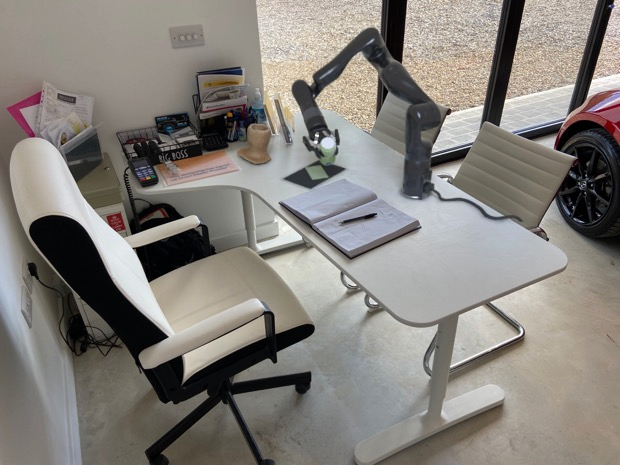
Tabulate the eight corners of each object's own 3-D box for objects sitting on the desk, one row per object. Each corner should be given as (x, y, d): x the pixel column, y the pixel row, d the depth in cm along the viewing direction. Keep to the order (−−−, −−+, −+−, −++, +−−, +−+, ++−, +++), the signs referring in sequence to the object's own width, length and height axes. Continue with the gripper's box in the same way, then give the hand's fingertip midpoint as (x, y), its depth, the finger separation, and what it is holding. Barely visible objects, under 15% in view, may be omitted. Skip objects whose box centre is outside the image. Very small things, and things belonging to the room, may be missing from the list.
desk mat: (345, 169, 201) (345, 168, 201) (310, 188, 187) (310, 187, 187) (319, 161, 209) (318, 159, 208) (283, 179, 195) (283, 178, 194)
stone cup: (278, 160, 210) (275, 126, 203) (254, 168, 205) (250, 133, 197) (259, 150, 221) (256, 117, 213) (236, 157, 215) (232, 123, 207)
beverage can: (335, 154, 187) (337, 132, 177) (335, 169, 183) (337, 148, 173) (318, 153, 187) (319, 132, 177) (318, 169, 183) (319, 148, 173)
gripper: (332, 125, 191) (346, 157, 183) (296, 132, 189) (309, 166, 181) (333, 111, 184) (347, 144, 176) (296, 118, 182) (309, 153, 174)
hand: (328, 155), depth 178 cm, fingers closed on beverage can, 5 cm apart
